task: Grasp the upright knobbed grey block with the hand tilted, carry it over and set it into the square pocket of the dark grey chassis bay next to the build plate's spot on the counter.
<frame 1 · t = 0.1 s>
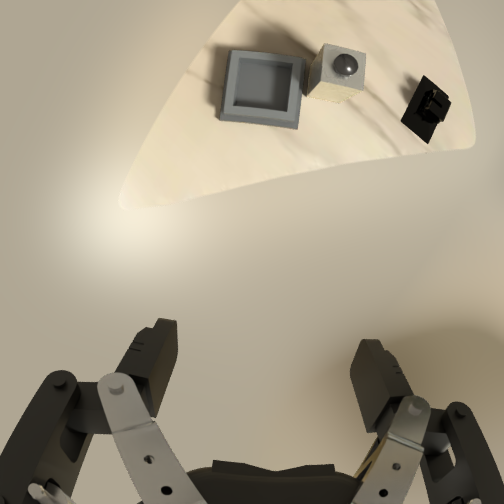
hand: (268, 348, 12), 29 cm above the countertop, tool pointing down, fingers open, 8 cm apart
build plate: (424, 108, 33), on the countertop
chassis bay: (263, 89, 34), on the countertop
knobbed grey block: (324, 84, 33), on the countertop
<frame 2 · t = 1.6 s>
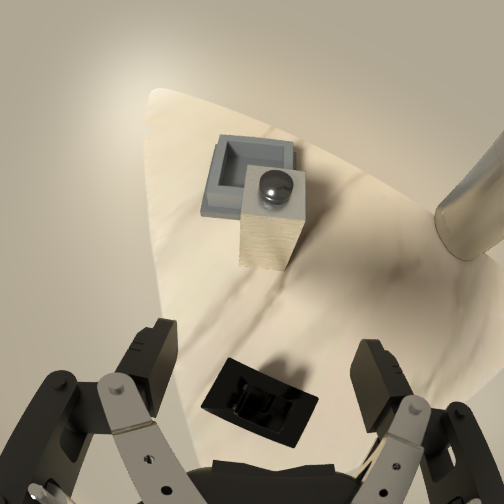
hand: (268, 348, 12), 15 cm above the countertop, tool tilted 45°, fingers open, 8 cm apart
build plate: (260, 404, 24), on the countertop
chassis bay: (251, 183, 33), on the countertop
knobbed grey block: (263, 248, 30), on the countertop
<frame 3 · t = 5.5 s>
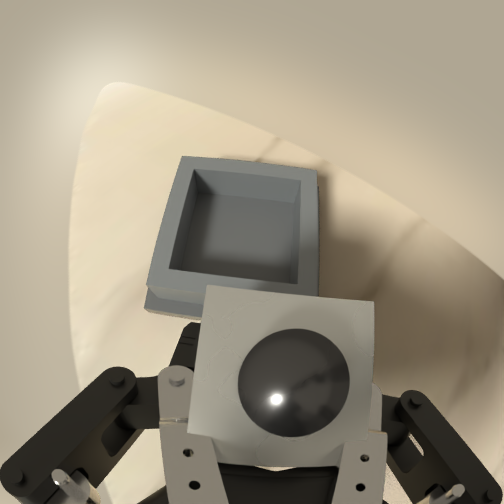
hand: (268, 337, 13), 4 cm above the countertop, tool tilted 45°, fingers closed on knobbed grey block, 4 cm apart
chassis bay: (239, 247, 19), on the countertop
knobbed grey block: (257, 378, 16), on the countertop, touching gripper
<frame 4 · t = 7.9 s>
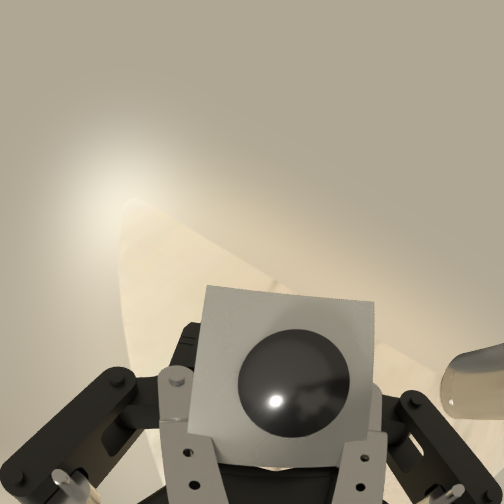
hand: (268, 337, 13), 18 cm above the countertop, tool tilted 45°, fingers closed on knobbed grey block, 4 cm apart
knobbed grey block: (257, 378, 16), point 14 cm above the countertop, touching gripper
when the fingers open (6 cm above the countertop, at t = 10.4 s): knobbed grey block drops 1 cm, resting on chassis bay.
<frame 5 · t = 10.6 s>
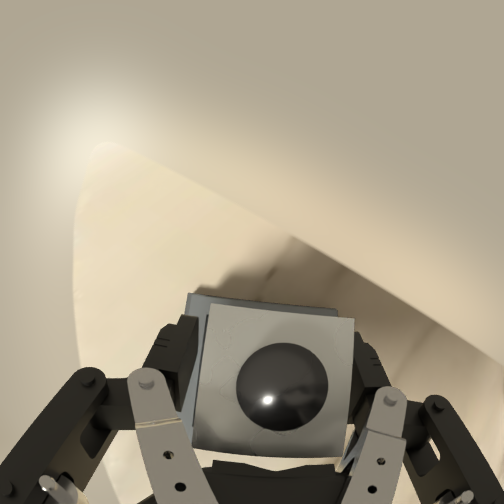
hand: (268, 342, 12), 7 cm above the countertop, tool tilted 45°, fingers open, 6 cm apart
chassis bay: (254, 377, 18), on the countertop
knobbed grey block: (255, 379, 17), point 1 cm above the countertop, touching chassis bay
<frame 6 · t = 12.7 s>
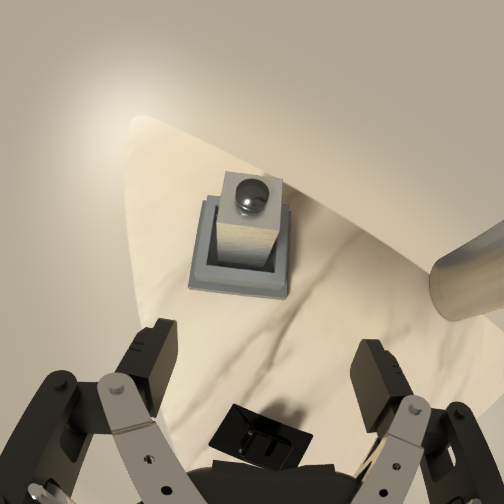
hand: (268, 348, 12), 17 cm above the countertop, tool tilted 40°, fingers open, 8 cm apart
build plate: (261, 440, 25), on the countertop
chassis bay: (241, 249, 32), on the countertop
knobbed grey block: (242, 247, 31), point 1 cm above the countertop, touching chassis bay
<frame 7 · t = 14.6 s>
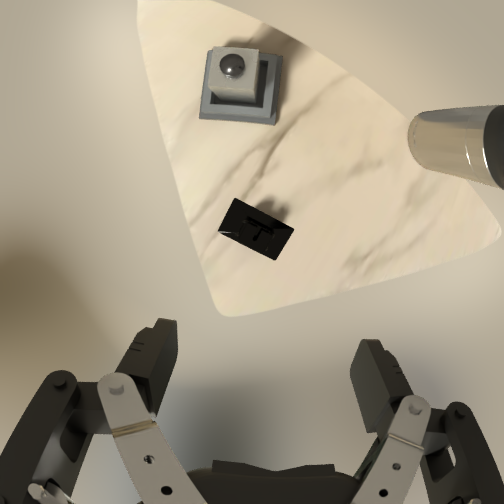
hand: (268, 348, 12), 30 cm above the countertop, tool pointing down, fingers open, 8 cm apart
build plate: (255, 228, 42), on the countertop
chassis bay: (241, 86, 34), on the countertop
knobbed grey block: (240, 86, 33), point 1 cm above the countertop, touching chassis bay
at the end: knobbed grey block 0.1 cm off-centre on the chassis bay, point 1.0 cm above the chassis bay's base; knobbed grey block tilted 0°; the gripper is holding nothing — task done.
